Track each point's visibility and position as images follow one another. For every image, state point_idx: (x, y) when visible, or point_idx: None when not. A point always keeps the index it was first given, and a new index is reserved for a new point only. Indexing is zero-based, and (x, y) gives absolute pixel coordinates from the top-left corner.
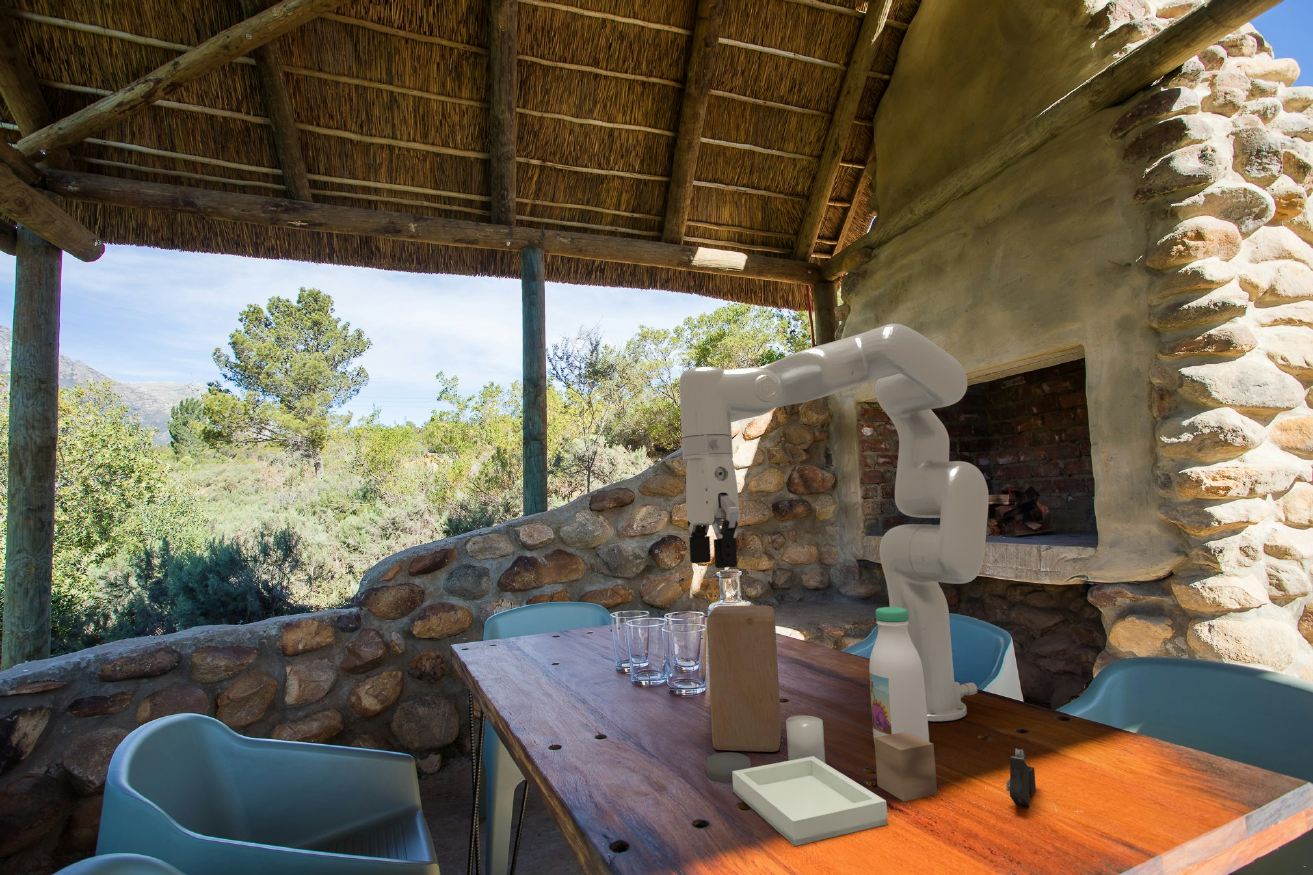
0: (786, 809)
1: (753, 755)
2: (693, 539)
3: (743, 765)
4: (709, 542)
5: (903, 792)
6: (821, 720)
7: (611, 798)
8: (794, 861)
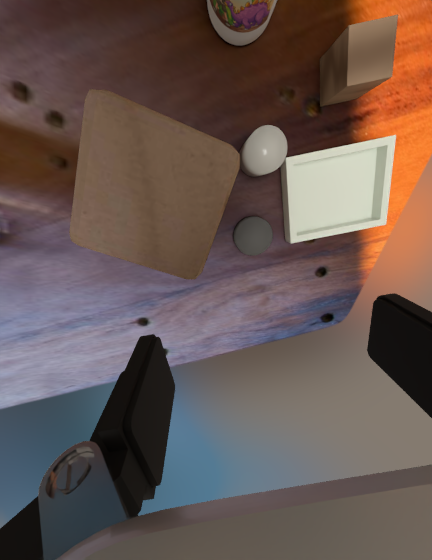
0: (368, 222)
1: None
2: (157, 474)
3: (268, 227)
4: (138, 396)
5: (361, 95)
6: (271, 126)
7: (266, 319)
8: (388, 228)
